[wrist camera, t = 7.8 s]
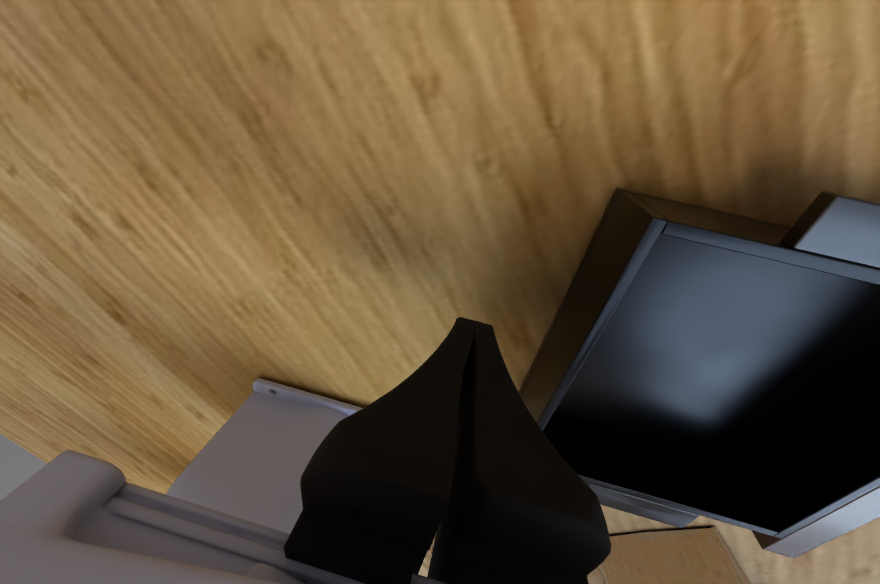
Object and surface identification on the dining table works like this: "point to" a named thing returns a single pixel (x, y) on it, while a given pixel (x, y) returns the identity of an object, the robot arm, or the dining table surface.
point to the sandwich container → (671, 559)
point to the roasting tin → (719, 363)
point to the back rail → (825, 527)
